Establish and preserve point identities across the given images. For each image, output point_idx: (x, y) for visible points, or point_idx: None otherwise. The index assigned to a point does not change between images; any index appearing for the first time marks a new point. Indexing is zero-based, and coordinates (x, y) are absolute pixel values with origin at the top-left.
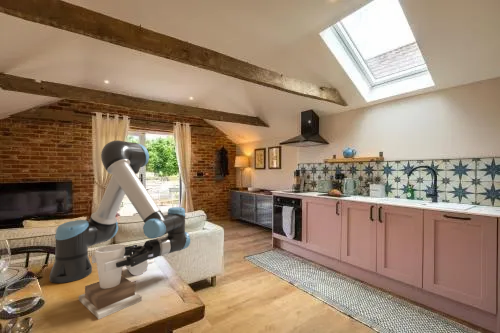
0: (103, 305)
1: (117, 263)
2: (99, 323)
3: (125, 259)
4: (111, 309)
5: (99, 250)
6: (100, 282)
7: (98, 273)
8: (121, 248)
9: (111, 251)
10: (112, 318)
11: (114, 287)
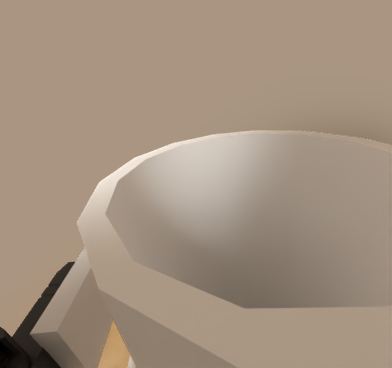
0: None
1: (69, 262)
2: None
3: (37, 341)
4: (129, 359)
5: (312, 153)
6: (233, 300)
7: (245, 263)
8: (103, 233)
9: (124, 167)
10: (105, 359)
11: None
